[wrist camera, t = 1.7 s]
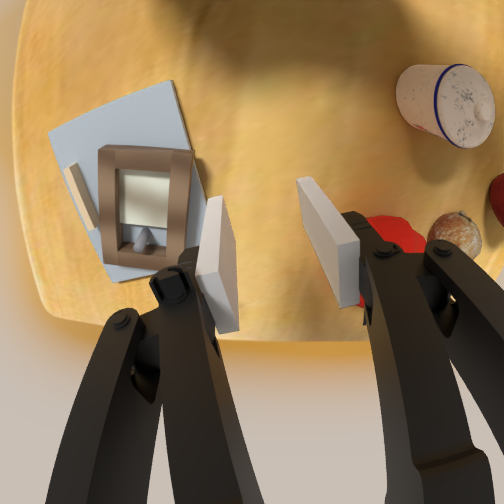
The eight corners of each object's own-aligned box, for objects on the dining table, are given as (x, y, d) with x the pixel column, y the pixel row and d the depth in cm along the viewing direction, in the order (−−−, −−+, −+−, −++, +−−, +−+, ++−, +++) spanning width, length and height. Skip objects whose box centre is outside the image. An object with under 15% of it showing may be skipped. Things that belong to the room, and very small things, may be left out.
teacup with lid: (401, 138, 31) (460, 166, 21) (384, 67, 27) (446, 68, 17) (467, 121, 30) (527, 145, 20) (455, 58, 25) (519, 65, 15)
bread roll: (461, 212, 41) (492, 212, 33) (458, 272, 42) (489, 280, 34) (418, 208, 41) (451, 208, 33) (416, 274, 42) (447, 284, 34)
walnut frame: (106, 144, 28) (97, 149, 26) (194, 150, 30) (191, 155, 28) (109, 253, 35) (103, 263, 33) (184, 262, 37) (182, 273, 35)
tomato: (328, 296, 43) (344, 339, 36) (309, 224, 37) (329, 264, 29) (409, 266, 42) (437, 303, 34) (405, 193, 35) (441, 223, 28)
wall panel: (52, 130, 28) (30, 139, 23) (172, 80, 27) (161, 79, 22) (115, 277, 39) (104, 300, 35) (223, 253, 38) (222, 277, 34)
